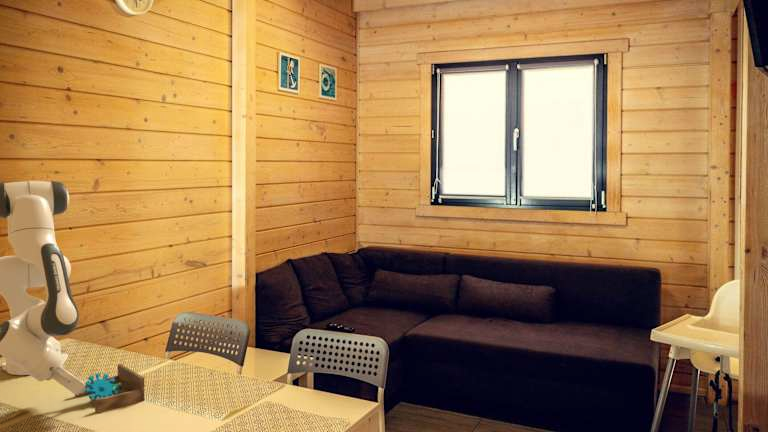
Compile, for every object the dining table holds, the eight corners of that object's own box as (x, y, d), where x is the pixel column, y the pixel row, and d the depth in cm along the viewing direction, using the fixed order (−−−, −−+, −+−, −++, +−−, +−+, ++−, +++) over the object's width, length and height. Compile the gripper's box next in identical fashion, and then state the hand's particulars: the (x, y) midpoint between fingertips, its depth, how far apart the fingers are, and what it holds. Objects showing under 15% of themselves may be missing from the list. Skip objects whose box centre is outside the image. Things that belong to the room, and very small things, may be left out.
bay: (96, 412, 185) (95, 388, 184) (74, 396, 197) (74, 373, 196) (144, 400, 195) (144, 377, 194) (121, 385, 207) (120, 363, 206)
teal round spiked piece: (91, 403, 187) (82, 373, 192) (82, 414, 190) (74, 384, 194) (127, 398, 195) (118, 369, 200) (119, 408, 198) (110, 380, 203)
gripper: (66, 363, 176) (104, 390, 184) (42, 347, 191) (78, 372, 199) (49, 383, 174) (88, 409, 181) (26, 365, 188) (62, 390, 196)
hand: (82, 390), depth 190 cm, fingers closed
